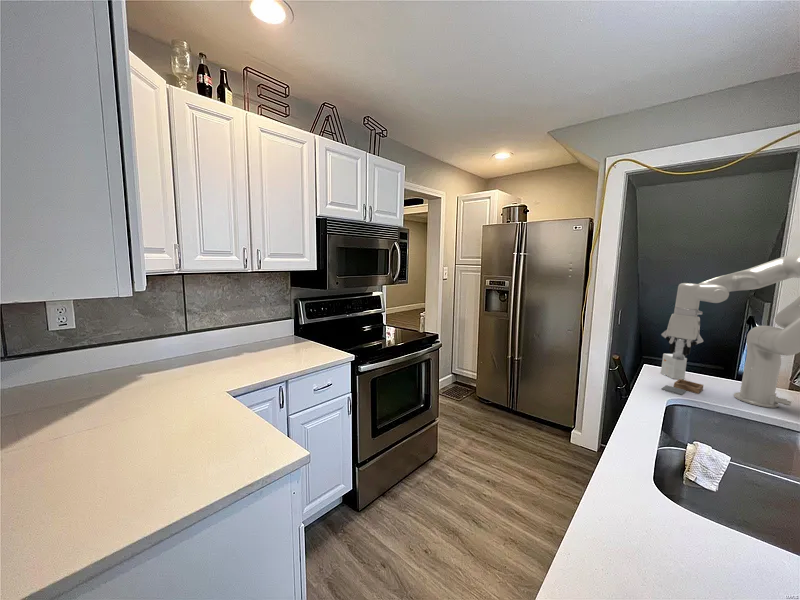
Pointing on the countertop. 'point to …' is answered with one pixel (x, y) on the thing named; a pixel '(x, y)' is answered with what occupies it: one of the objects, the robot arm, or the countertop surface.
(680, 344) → the peg
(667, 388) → the pad
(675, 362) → the small box
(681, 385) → the frame
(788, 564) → the countertop surface
